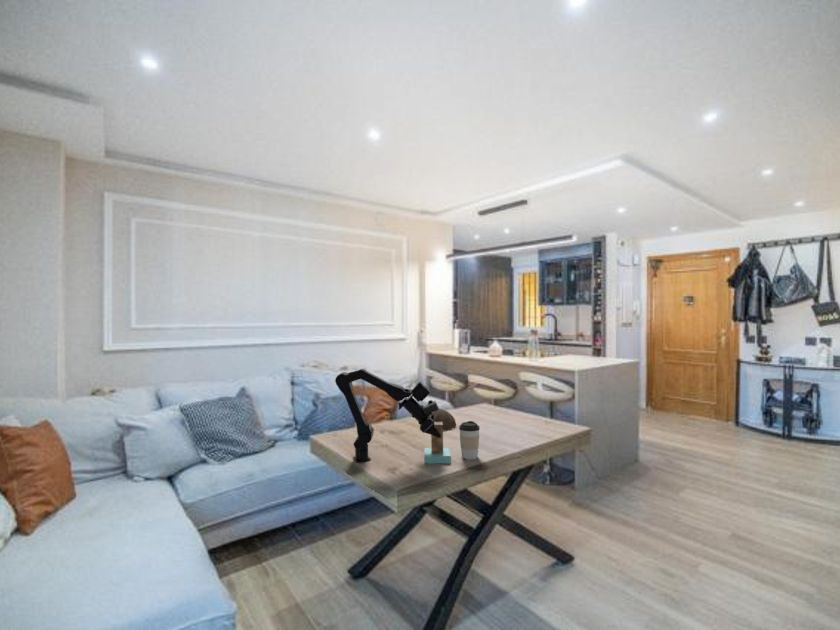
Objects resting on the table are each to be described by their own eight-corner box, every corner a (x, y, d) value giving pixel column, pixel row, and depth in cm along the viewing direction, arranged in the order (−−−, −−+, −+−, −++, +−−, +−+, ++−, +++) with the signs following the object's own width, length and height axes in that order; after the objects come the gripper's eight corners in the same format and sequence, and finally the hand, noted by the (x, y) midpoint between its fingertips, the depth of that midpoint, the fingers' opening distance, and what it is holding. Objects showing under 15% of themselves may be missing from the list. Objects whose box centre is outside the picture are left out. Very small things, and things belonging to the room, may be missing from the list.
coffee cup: (477, 461, 178) (476, 426, 178) (456, 458, 181) (456, 424, 181) (482, 454, 186) (481, 421, 186) (462, 452, 190) (462, 419, 190)
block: (431, 453, 179) (431, 424, 179) (431, 450, 184) (431, 421, 184) (443, 453, 179) (442, 424, 179) (442, 450, 184) (442, 421, 184)
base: (424, 463, 176) (424, 456, 176) (424, 454, 187) (424, 448, 187) (450, 463, 176) (450, 456, 176) (449, 454, 187) (449, 447, 187)
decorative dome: (459, 430, 227) (459, 412, 227) (423, 431, 225) (423, 413, 225) (453, 421, 246) (453, 404, 246) (420, 422, 244) (420, 405, 244)
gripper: (427, 400, 172) (454, 426, 172) (427, 391, 191) (451, 415, 191) (409, 419, 172) (435, 445, 172) (410, 409, 191) (434, 432, 191)
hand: (440, 433), depth 182 cm, fingers open, 9 cm apart
